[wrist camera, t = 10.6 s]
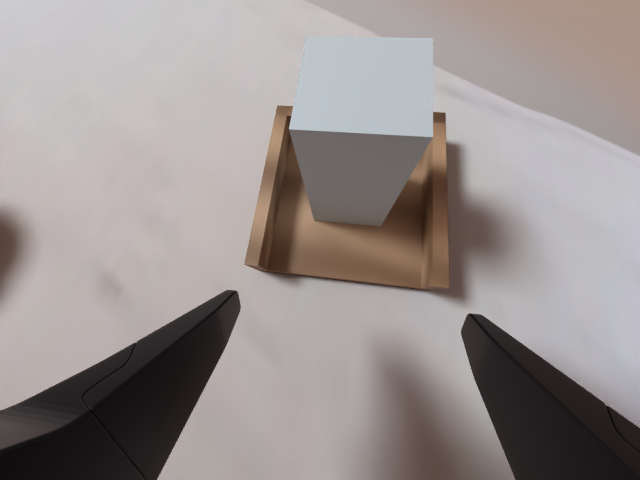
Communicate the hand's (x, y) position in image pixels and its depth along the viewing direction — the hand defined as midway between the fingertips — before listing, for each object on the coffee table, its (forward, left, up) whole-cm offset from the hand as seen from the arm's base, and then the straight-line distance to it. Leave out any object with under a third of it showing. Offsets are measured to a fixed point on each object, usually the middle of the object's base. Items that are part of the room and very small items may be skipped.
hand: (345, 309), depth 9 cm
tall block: (+5, +8, -9) cm, 12 cm away
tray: (+5, +8, -9) cm, 13 cm away
